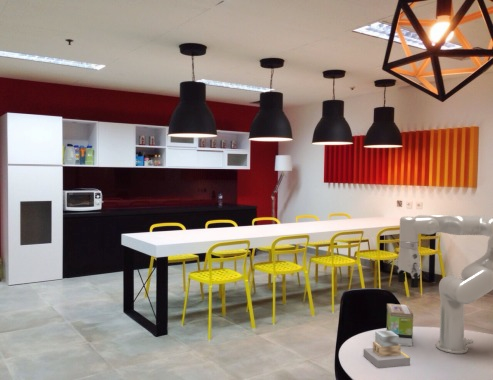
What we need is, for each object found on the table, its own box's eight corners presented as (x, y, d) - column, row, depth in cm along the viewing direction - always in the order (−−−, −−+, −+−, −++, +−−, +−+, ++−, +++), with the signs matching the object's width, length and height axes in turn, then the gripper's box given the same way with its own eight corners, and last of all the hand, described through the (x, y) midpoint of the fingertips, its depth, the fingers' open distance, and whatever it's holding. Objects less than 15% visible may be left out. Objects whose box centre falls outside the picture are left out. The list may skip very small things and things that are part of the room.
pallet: (392, 349, 183) (392, 330, 183) (400, 355, 178) (400, 335, 177) (372, 351, 181) (373, 331, 181) (380, 356, 176) (380, 337, 175)
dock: (393, 353, 187) (393, 346, 187) (410, 365, 175) (410, 357, 175) (363, 355, 184) (363, 348, 184) (377, 368, 172) (378, 360, 172)
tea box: (413, 346, 195) (413, 313, 194) (389, 344, 197) (390, 312, 196) (407, 334, 209) (408, 304, 209) (385, 333, 211) (386, 302, 211)
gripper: (428, 248, 183) (427, 289, 183) (405, 242, 200) (404, 279, 200) (412, 248, 181) (411, 290, 182) (390, 242, 198) (389, 280, 198)
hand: (407, 284), depth 191 cm, fingers open, 9 cm apart
